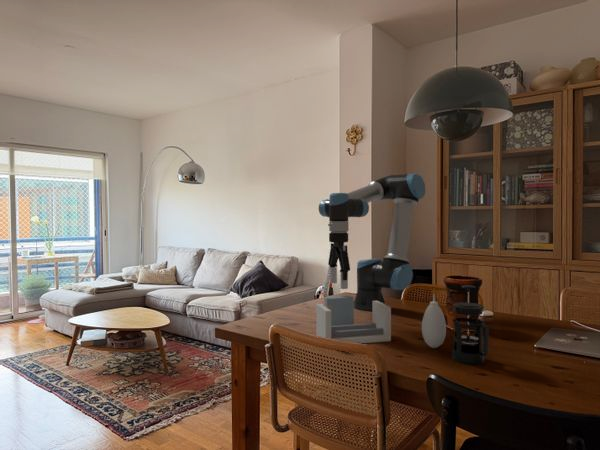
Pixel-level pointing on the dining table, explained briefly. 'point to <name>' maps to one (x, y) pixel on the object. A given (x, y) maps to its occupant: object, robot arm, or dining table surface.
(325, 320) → the door track
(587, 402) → the dining table surface
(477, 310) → the french press
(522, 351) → the dining table surface
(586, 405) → the dining table surface
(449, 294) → the vessel
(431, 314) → the white air blower bulb
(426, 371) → the dining table surface
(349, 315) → the sliding door panel
